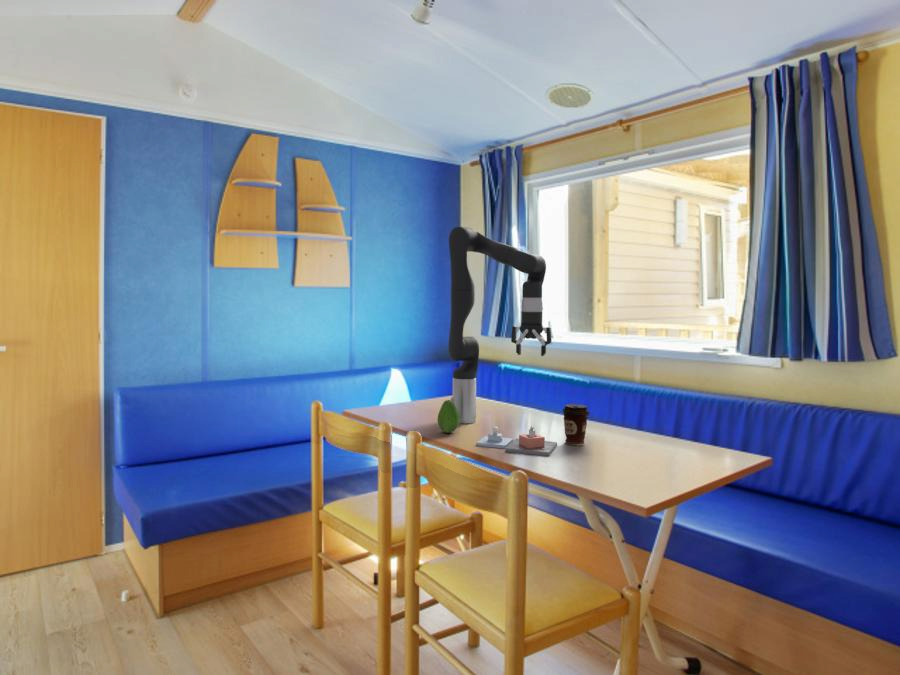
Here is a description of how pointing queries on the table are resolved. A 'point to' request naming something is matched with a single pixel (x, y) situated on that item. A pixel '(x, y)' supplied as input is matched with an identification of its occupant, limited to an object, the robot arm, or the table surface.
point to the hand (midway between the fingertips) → (530, 355)
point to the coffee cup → (575, 423)
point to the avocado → (448, 417)
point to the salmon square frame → (531, 441)
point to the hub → (542, 451)
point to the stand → (494, 440)
